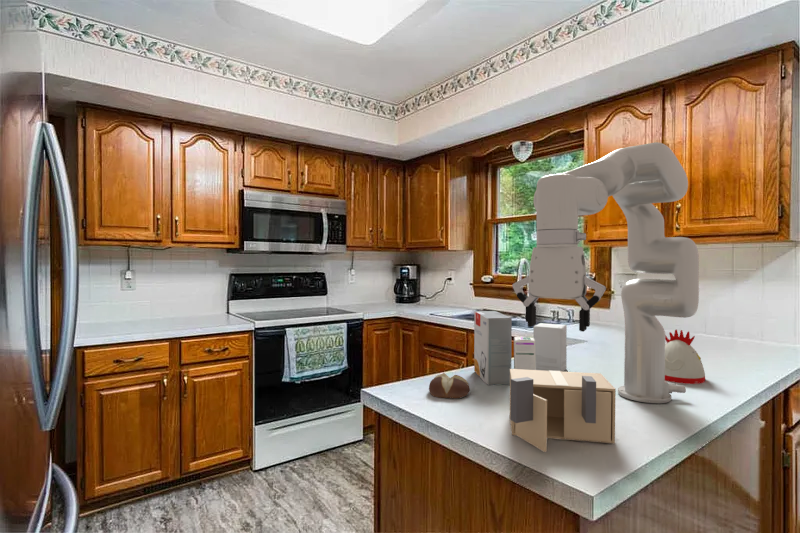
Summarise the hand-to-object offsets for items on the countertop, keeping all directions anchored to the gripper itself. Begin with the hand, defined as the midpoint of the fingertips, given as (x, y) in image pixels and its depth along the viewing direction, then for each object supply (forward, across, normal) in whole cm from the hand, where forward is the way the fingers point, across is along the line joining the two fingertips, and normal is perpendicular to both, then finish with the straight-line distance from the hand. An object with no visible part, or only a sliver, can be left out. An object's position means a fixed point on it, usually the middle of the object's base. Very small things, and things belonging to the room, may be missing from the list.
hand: (556, 328), depth 85 cm
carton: (+24, +2, -10) cm, 26 cm away
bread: (+24, +33, -19) cm, 46 cm away
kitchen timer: (+25, -18, -74) cm, 80 cm away
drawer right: (+23, -5, -4) cm, 24 cm away
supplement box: (+24, +18, -60) cm, 68 cm away
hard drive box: (+24, +30, -40) cm, 56 cm away
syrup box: (+24, +18, -34) cm, 46 cm away
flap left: (+23, +6, +4) cm, 24 cm away
